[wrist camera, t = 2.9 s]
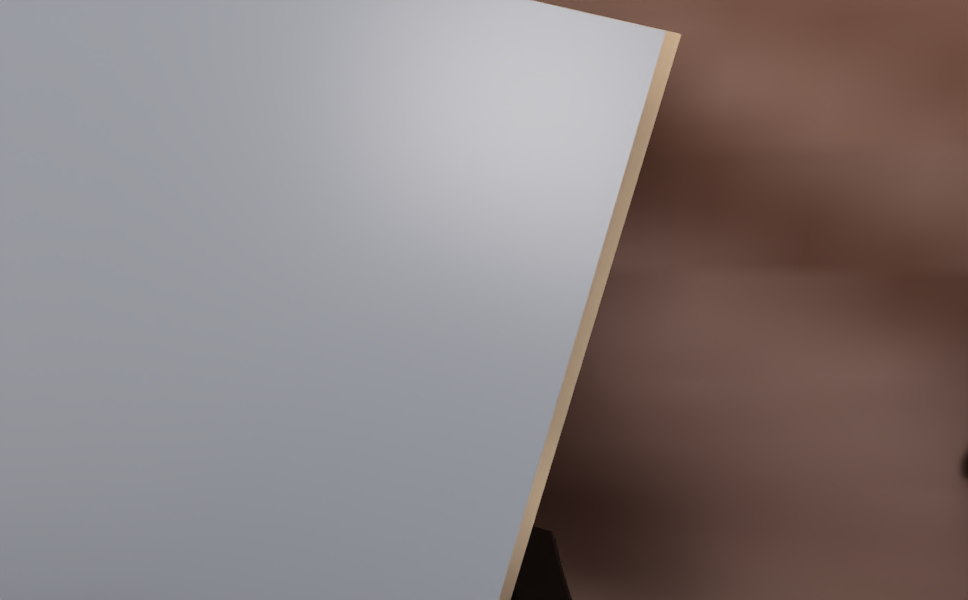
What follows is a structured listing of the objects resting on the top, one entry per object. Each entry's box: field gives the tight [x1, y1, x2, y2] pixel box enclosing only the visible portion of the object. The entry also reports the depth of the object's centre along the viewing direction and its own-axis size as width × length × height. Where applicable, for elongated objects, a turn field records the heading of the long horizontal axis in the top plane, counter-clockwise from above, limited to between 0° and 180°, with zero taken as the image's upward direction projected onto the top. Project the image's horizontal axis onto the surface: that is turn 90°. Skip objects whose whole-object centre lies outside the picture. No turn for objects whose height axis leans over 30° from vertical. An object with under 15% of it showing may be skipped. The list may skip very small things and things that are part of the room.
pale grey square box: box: [0, 0, 666, 600], centre depth 5 cm, size 4×4×4 cm
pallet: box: [499, 0, 681, 600], centre depth 11 cm, size 5×17×4 cm, turn 167°
